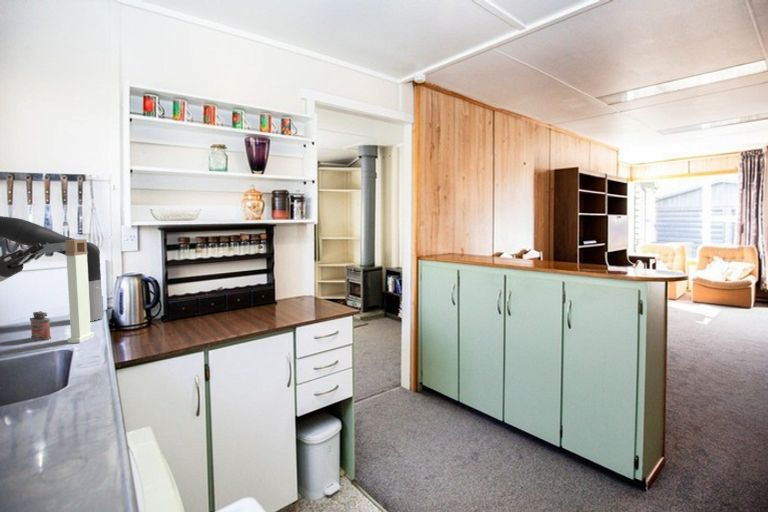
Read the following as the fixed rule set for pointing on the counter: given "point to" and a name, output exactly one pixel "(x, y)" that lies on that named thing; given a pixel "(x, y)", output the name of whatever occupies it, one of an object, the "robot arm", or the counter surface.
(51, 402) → the counter surface
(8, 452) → the counter surface
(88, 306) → the stand
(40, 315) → the lighter
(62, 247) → the steel bar
